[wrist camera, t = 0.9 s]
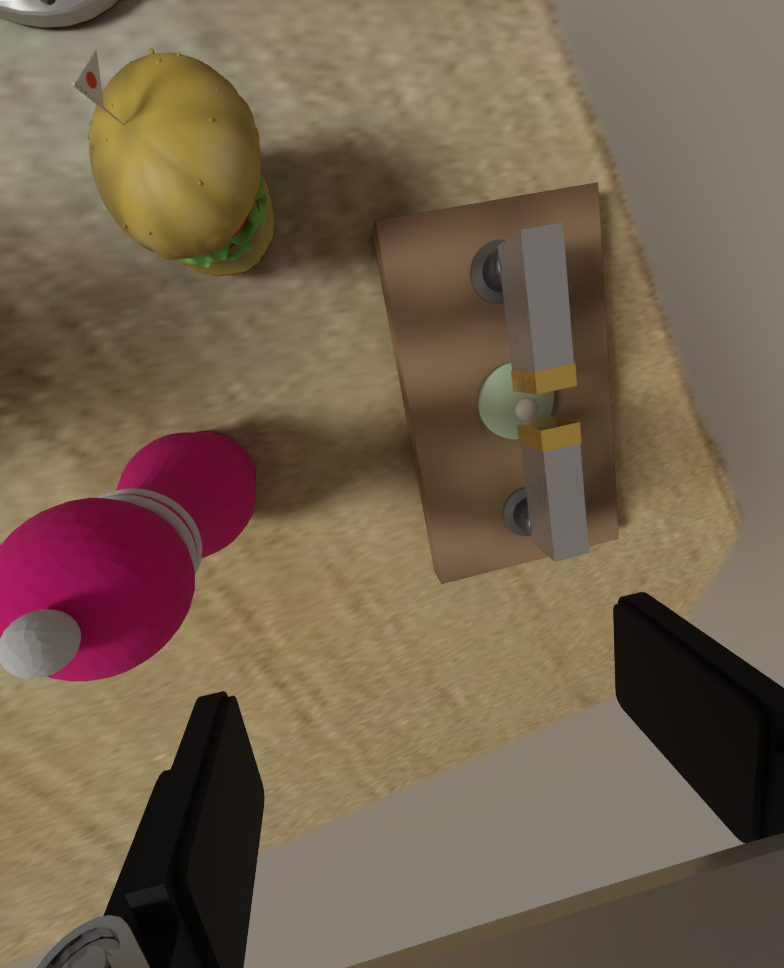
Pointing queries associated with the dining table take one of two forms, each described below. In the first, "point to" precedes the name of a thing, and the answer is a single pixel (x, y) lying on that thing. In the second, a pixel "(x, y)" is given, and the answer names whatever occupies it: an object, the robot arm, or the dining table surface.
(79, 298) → the dining table surface
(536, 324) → the gold-tipped grey bar
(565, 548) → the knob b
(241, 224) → the hamburger
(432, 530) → the level plate
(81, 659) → the pepper mill
